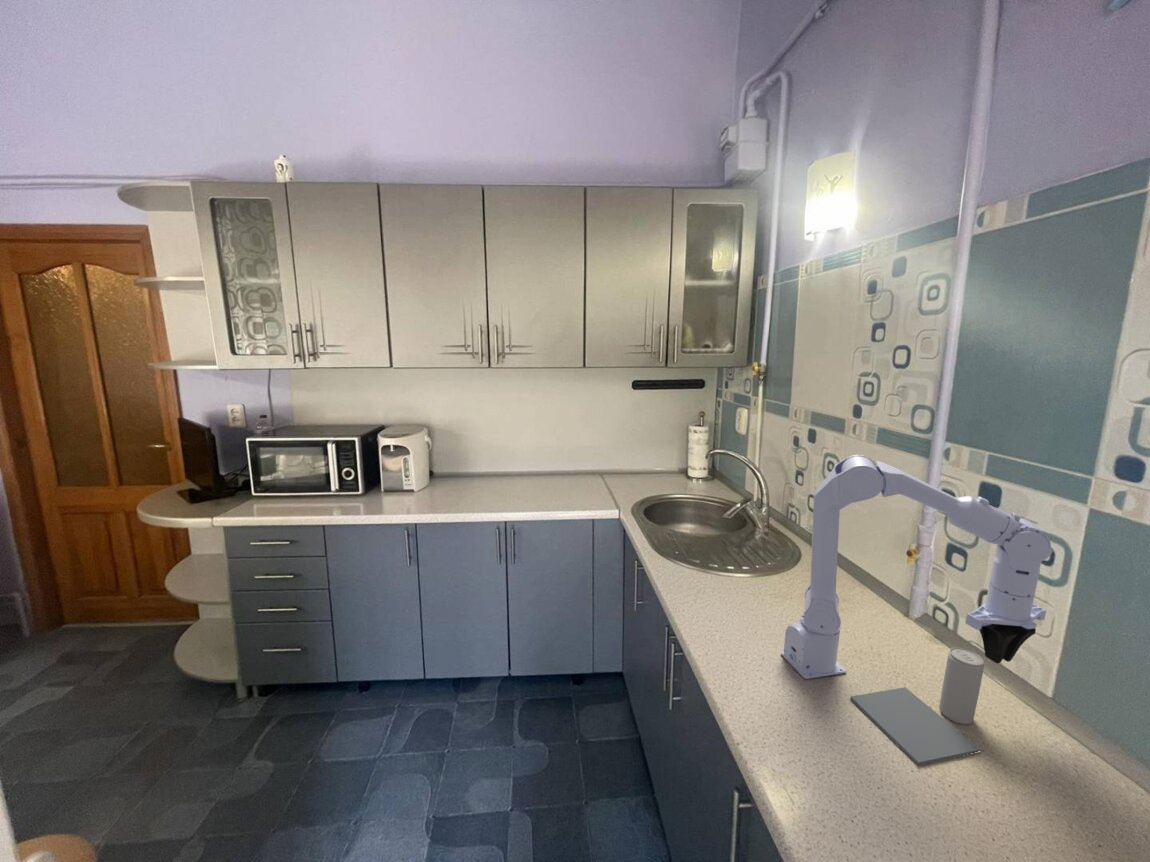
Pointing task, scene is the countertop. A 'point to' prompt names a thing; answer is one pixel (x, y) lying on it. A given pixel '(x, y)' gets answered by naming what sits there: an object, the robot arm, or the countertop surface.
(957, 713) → the beverage can
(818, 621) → the robot arm
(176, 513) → the countertop surface
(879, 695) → the mat
